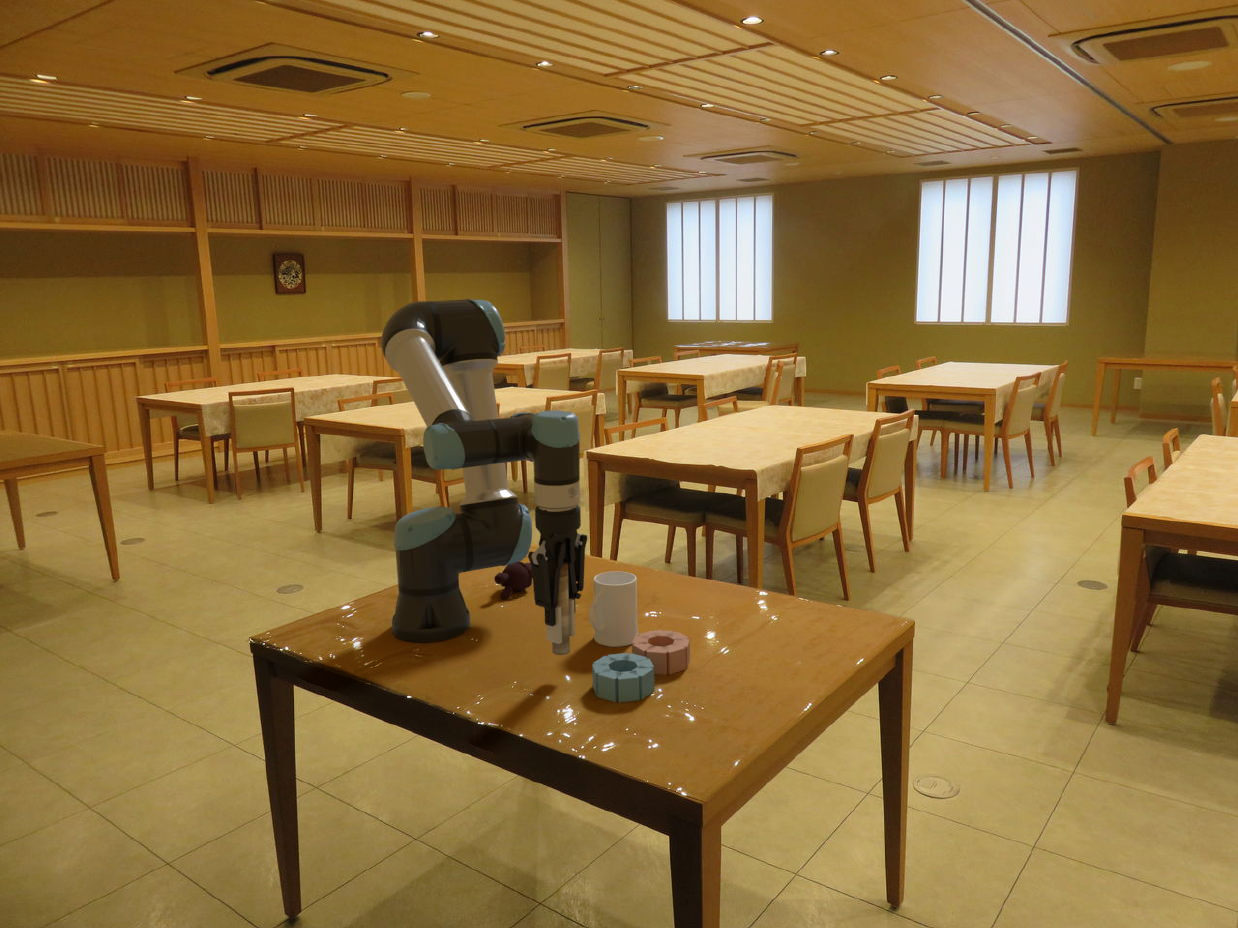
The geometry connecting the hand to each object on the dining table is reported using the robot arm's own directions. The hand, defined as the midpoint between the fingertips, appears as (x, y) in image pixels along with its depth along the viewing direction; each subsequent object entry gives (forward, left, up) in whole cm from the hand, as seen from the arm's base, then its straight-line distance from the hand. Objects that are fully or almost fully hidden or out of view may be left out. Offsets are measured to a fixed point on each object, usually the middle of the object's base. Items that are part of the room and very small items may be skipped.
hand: (560, 637), depth 154 cm
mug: (-2, +17, -7) cm, 19 cm away
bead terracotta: (+12, +14, -7) cm, 19 cm away
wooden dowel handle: (0, 0, -3) cm, 3 cm away
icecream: (-35, +29, -7) cm, 46 cm away
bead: (+12, +2, -7) cm, 14 cm away
